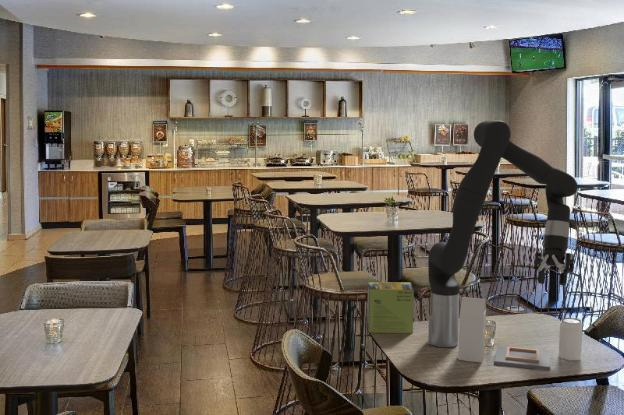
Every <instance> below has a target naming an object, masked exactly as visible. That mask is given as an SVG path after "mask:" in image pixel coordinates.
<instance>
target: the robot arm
mask: <svg viewBox="0 0 624 415" xmlns="http://www.w3.org/2000/svg"><path fill="white" fill-rule="evenodd" d="M511 132H512V131H511V128H510V126H509V124H508V123H507V122H505V121H504V120H503V121H502V120H484V121H482V122H480V123H478V124H477V125H476V127H475V128H474V130H473V139H474V141H475V143H476V144H477V146H479V147H481V148H480V150H479V152H478V155H477V158H476V160H475V162H474V163H473V165H471V167H470V168H469V170H468V171H467V172H466V174H465V175H464V177H463V178H462V179H461V181H460V183H459V185H458V188H457V190H456V193H455V195H454V197H453V198H454V199H453V203H452V227H451V231H450V234H449V236H448V239H447V242H444V241H439V242H437V243H434V244H433V246H431V248H430V250H429V254H428V261H427V262H428V263H427V264H428V267H427V268H428V283H429V285H430V302H429V303H430V304H429V316H428V334H427V335H428V336H427V337H428V338H427V339H428V340H427V341H428V342H427V345H431V346H435V347H439V348H454V347H456V346H458V345H459V324H460V284H459V282H458V281H457V279H456V274H457V273H459V272H460V271H461V270H462V268H463V266H464V264H465V262H466V259H467V256H468V252H469V247H470V243H471V240H472V236H473V235H474V234H473V233H474V230H475V227H476V224H477V222H478V219H479V217H480V213H481V211H482V210H483V207H484V203H485V202H486V199H487V195H488V192H489V189H490V186H491V184H492V181H493V179H494V176H495V173H496V170H497V169H498V166H499V163H500V162H501V160H502V159H504V160H505V161H507V162H509V163H510V164H511V165H513V166H514V167H516V168H517V169H519V170H520V171H522V173H524V174H525V175H526V176H528V177H529V178H531V179H532V180H534V181H535V182H536V183H538V184H539V185H545V190H544V191H545V192H544V193H545V198H546V204H547V215H546V216H547V217H546V224H545V228H544V238H543V249H544V251H543V252H539V251H537V252H536V253H535V257H534V264H533V269H534V270H535V271H537V272H538V273H537V282H538V284H541V285H545V281H546V271H548V269H550V268H551V267H557V268H558V269H559V271H560V273H559V278H558V279H559V281H558V285H559V286H562V287H563V286H566V284H567V279H568V274H570V273H574V268H575V265H574V264H575V255H574V254H575V253H571V252H566V251H568V244H569V238H570V236H569V235H570V218H571V207H570V206H569V205H567V204H565V203H564V198H568V197H572V196H574V195H575V194H576V193H577V192H578V188H579V185H578V182H577V180H576V178H574V176H572V175H571V174H569V173H567V172H566V171H564V170H561V169H559V168H557V167H554V166H552V165H551V164H549V163H548V162H547V161H545V159H543V158H542V157H540V156H539V155H537V154H535V153H534V152H532V151H530V150H528V149H526V148H524V147H523V146H520V145H518V144H517V143H515V142H513V141H512V140H511V136H512V135H511V134H512V133H511Z"/></svg>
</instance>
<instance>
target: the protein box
mask: <svg viewBox="0 0 624 415" xmlns="http://www.w3.org/2000/svg"><path fill="white" fill-rule="evenodd" d="M414 297H415V289H414V287H413V285H412V282H408V281H407V282H399V281H398V282H396V281H395V282H394V281H393V282H390V281H385V282H381V281H379V282H378V281H376V282H375V281H373V282H372V281H371V282H369V281H368V282H367V314H366V315H367V318H366V319H367V320H366V322H367V323H366V324H367V325H366V326H367V331H368V333H370V334H371V333H373V334H374V333H375V334H380V333H381V334H413V333H414V300H415V298H414Z"/></svg>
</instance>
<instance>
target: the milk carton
mask: <svg viewBox="0 0 624 415" xmlns="http://www.w3.org/2000/svg"><path fill="white" fill-rule="evenodd" d="M486 301H487V300H486V298H477V297H465V296H462V297H461V302H460V307H459V323H458V357H457V358H458V360H459V361H465V362H473V363H475V362H476V363H481V364H482V363H483V361H484V358H485V355H486V354H485V352H486V328H487V324H486V323H487V304H486Z"/></svg>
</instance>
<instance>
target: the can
mask: <svg viewBox="0 0 624 415" xmlns="http://www.w3.org/2000/svg"><path fill="white" fill-rule="evenodd" d="M558 337H559V338H558V339H559V340H558V357H559V358H560V359H561V360H564V361H568V362H569V361H570V362H576V361H579V360H581V356H582V342H583V324H582V320H581V319H579V318H575V317H563V318H561V322H560V324H559V336H558Z"/></svg>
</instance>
